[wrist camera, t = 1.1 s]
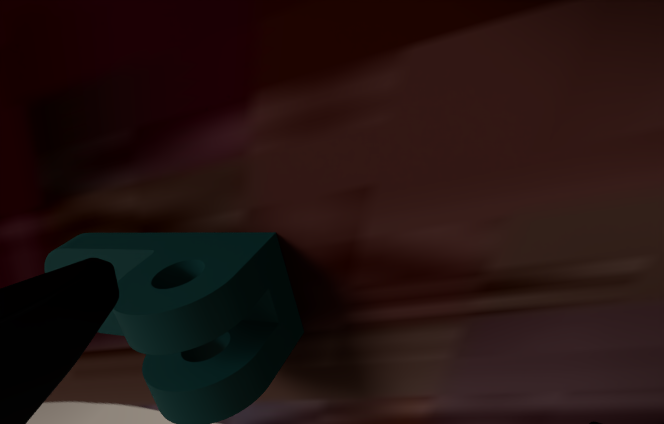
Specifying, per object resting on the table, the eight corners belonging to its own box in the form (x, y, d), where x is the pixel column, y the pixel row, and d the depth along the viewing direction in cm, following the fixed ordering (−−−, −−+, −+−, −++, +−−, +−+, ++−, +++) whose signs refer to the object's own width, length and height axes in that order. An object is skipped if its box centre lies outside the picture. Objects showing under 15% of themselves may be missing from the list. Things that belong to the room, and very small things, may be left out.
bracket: (277, 230, 27) (190, 320, 21) (305, 329, 30) (235, 436, 23) (57, 231, 35) (-57, 297, 28) (95, 310, 37) (-1, 386, 31)
